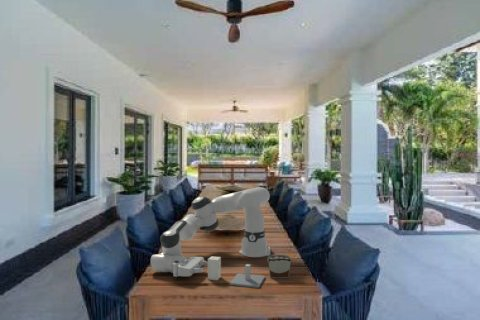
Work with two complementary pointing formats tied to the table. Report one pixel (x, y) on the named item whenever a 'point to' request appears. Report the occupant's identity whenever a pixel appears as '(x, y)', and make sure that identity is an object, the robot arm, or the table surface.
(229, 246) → the table surface
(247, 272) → the post stand
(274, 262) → the food container
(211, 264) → the tall white pillar
